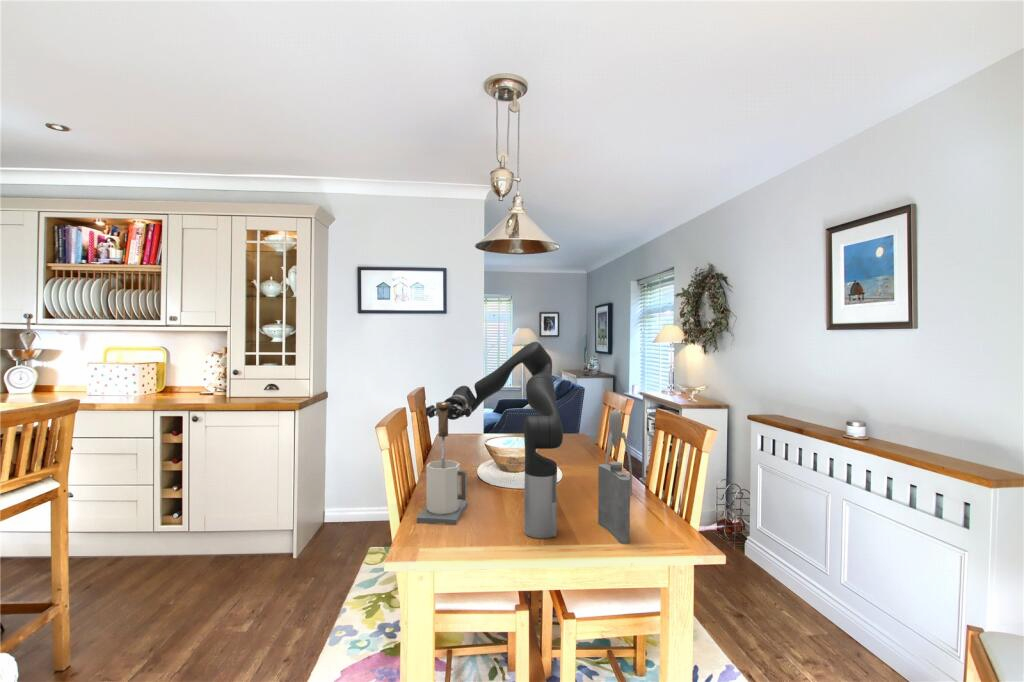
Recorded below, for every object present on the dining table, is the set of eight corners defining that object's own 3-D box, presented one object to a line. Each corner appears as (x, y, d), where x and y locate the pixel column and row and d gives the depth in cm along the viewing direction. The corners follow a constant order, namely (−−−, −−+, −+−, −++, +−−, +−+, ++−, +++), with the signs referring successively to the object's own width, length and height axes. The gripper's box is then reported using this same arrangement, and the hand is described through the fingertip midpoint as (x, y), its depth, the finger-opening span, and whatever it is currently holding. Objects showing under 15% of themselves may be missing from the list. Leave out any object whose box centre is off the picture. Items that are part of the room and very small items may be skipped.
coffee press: (471, 505, 164) (471, 458, 164) (460, 524, 148) (460, 472, 148) (431, 503, 166) (431, 457, 165) (416, 522, 150) (416, 471, 149)
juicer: (632, 501, 169) (633, 412, 168) (605, 499, 171) (606, 411, 170) (631, 491, 179) (632, 407, 178) (605, 489, 181) (606, 406, 180)
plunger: (458, 472, 160) (458, 401, 159) (452, 479, 152) (452, 405, 152) (434, 471, 161) (434, 400, 160) (427, 478, 153) (427, 404, 153)
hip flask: (596, 522, 151) (596, 456, 151) (608, 520, 152) (609, 455, 152) (620, 544, 136) (621, 471, 135) (634, 542, 137) (635, 470, 136)
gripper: (435, 395, 173) (421, 402, 157) (476, 396, 171) (466, 403, 155) (435, 416, 173) (421, 426, 157) (475, 418, 172) (465, 427, 156)
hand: (443, 414), depth 156 cm, fingers open, 8 cm apart
